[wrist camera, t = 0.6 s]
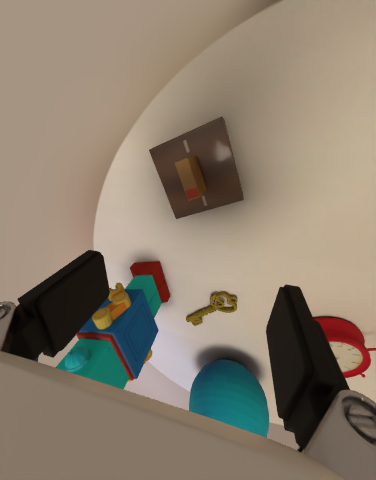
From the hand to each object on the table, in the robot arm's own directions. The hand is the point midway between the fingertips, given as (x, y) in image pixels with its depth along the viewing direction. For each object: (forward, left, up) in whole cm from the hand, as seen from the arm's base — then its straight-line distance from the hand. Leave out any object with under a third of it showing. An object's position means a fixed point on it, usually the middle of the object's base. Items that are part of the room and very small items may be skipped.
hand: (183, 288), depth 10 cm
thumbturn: (-4, -2, -18) cm, 19 cm away
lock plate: (-4, -2, -20) cm, 21 cm away
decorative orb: (+38, -9, -21) cm, 44 cm away
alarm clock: (+29, +9, -21) cm, 37 cm away
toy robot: (+12, -17, -21) cm, 29 cm away
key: (+20, -8, -21) cm, 30 cm away
